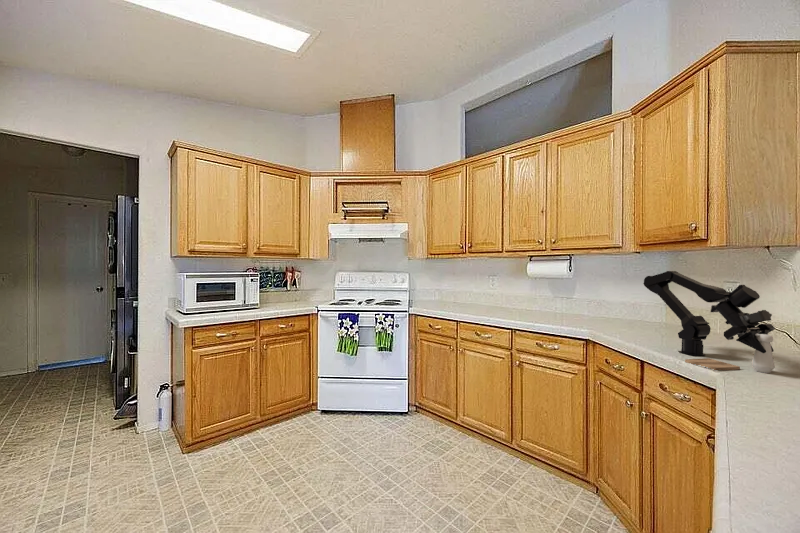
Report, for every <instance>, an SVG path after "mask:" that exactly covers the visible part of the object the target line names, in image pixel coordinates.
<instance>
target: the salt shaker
mask: <svg viewBox="0 0 800 533" xmlns="http://www.w3.org/2000/svg"><path fill="white" fill-rule="evenodd" d="M756 338H757V339H758V341H759V342H760V343H761V345H762V346H763V347H764V349H765V350H766V352H765V353H762V352H760V351H758V350H756V349H754V354H753V357H752V360H751V365H752V368H753V370H755V371H756V372H759V373H763V374H764V373H765V374H770V373H772V371H773V370H774V369H775V366H776V365H775V361H774V356H773V352H772V349H771V346H772V344H771V343H773V342H774V337H773V335H771V334H768V335H767V334H757V335H756Z"/></svg>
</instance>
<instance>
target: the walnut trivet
mask: <svg viewBox="0 0 800 533" xmlns="http://www.w3.org/2000/svg"><path fill="white" fill-rule="evenodd" d="M684 362H685V363H687V364H690V363H691V365H694V364H696V365H695V366H697V365H701V366H705V367H708V368H711V369H714V370H722V371H733V370H734V371H735V370H741V366H739V365H735V364H732V363H727V362H724V361H720V360H718V359H714V358H713V359H712V358H709V357H706V358H689V359H688V358H685V360H684ZM711 369H710V370H711ZM714 370H713V371H714Z"/></svg>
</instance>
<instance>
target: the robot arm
mask: <svg viewBox="0 0 800 533" xmlns="http://www.w3.org/2000/svg"><path fill="white" fill-rule="evenodd" d="M671 283H674V284H676V285H679V286H681V287H683V288H685V289H687V290H689V291H691V292H693V293H695V294H696V295H697V297H699V298H700V299H701V300H703V301H704V302H706V303H717V304H712V305H711V308H710V313H719V314H720V315H721V316H722V317H723V318H724V320H726V321H724V323H725V324H726V325H730V326H731V327H729V328H728V329H727V330H725V331H723V336H724V338H725V339H726V340H727V341H733V340H734V339H735V336H737V339H735V341H737V342H739V343H741V344H743V345H746V346H748V347H750V348H752V349H754V350H758V351H760V352H762V353H765V352H766V350H765V349H764V347H763V346H762V345H761V343H760V342H759V341H758V339H757V338H756V335H757V334H767V335H769V333H771V332H772V331H774V330H776V327H774V325H773V324H772V323H762V322H766V321H767V322H769V321H772V316H773V314H772V313H770V312H769V311H767V310H766V309H762V310H758V311H756V312H753V313H748V312H743V310H741V309H740V308H742V309H745V308H746V309H747V307H749V306H750V305H751V304H753V303H754V302H756V301H758V300H759V299H760V298H761V297H760V294H759V293H758V291H756V290H754V289H752V288H750V287H749V286H746V285H745V284H739V285H738V286H737V287H736V288H734V289H733V290H732V291H731V292H730V291H727V290H726V289H724V288H722V287H719V286H715V285H709V284H705V283H702V282H700V281H698V280H695V279H693V278H691V277H689V276H687V275H684V274H682V273H680V272H678V271H676V270H666V271H664V272H661V273H657V274H654V275H647V276H646V277H644V279H643V283H642V284H643V286H644V287H645V288H646V289H647V290H649V291H650V292H652V293H654V294H655V295H657V296H659V297H660V299H661V300H662V301H663V302H664V303H665V305H666V306H667V307H668V308H669V309H670V310H671V311H672V312H673V314H674V315H676V317H677V318H678V319H679V320H680V323H681V327H682V329H681V330H680V331H679V332H678V333H677V336H678V339H681V349H680V350H678V352H679V353H680V354H685V355H688V356H692V357H696V356H698V357H699V356H700V357H701V356H706V354H705V353H704V344H703V342H704V341H705V340H707V338H708V336H709V335H710V334H711V330H712V328H711V326H710V322H708V321H707V320H706V319H705V318H704V317H703V316H702V315H695V314H693V313H692V312H691V311H690V310H689V309H688V308H687V307H686V306H685V304H684V303H682V301H681V300H680V299H679V298H678V297H677V296H676V295H675V294H674V293H673V292H672V291H671V289H670V286H669V284H671ZM771 349H772V353H773V352H774V348H773V347H772V345H771Z"/></svg>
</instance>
